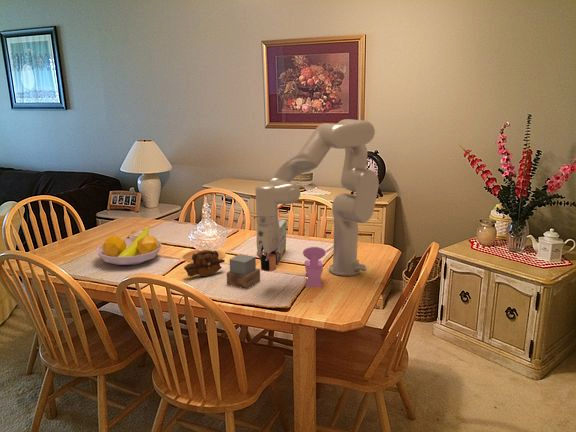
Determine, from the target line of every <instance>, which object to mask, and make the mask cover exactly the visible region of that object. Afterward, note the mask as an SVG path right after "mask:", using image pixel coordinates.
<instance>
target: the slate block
mask: <svg viewBox="0 0 576 432" xmlns="http://www.w3.org/2000/svg"><path fill="white" fill-rule="evenodd" d="M256 266H257V257H256V256H253V255H248V254H247V255H246V254H242V253H239V254H237V255H235V256H234V257H231V258H229V271H230V272H232V273H237V274H241V275H247V274H249V273H251V272H252V271H254V270H256V269H257V267H256Z"/></svg>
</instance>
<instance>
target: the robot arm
mask: <svg viewBox="0 0 576 432" xmlns="http://www.w3.org/2000/svg"><path fill="white" fill-rule="evenodd" d="M375 133H376V130H375V127H374V125H373V123H371V122H370V121H367V120H362V119H349V118H347V119H345V118H344V119H342V120H340V121H339V122H337V123H330V122H329V123H328V122H326V123H325V122H324V123H321V124H319V125H318V126H317V127H316V128H315V130H313V132H312V133H311V135H310V136H309V138H308V139H307V141H306V142H305V143H304V144H303V146H302V148H300V150H299V152H298V153H297V154H296V155H295V154H294V156H292V157H291V158H289V159H288V160H287V161H285V162H284V163H283V164H282V165H280V167H279V168H278V169H277V170H276V171H275V172H274V174H273V176H272V177H271V178H270V180H269V181H268V183H261V184H259V185H257V186H256V187H255V206H256V207H255V209H256V213H255V214H256V224H257V226H256V227H257V228H256V250H257V251H256V256H257V257H258V259H259V260H260V271H261V270H262V271H264V270H265V271H264V272H270V271H269V260H268V255H269V253H271V254H275V255H276V266H278V263H277V254H278V251H277V250H278V248H279V247H280V246H281V234H280V226H279V222H278V219H279V213H278V212H279V208H278V207H279V206H278V205H291V204H294V203H297V201H298V200H299V199H300V198H301V189H300V187H299V186H298V185H297V184H295V183H293V182H292V181H293V180H294V179H295V178H297V176H299V175H301V174H303V173H306V172H310V171H312V170H315V169H317V168H318V167H319V165H320V164H321V163H322V161H323V160H324V158H325V157H326V156H327V154H328V153H329V151H330V150H331V149H338V150H342V149H344V151H345V154H344V161H343V165H342V172H341V177H340V184H341V187H342V188H343V189H345V190H346V191H351V192H353V193H355V195H354V194H351V193H345V192H344V193H343V192H342V193H340V194H338V195H336V196H335V198H333V200H332V203H331V204H332V206H331V207H332V208H331V210H332V214H333V215H332V217H333V246H332V247H333V250H332V253H333V254H332V255H333V256H332V264H330V265H329V267H328V271H329V273H331V274H332V275H335V276H342V277H349V276H350V277H351V276H356V275H359V274H360V272H366V271H367V265H366V264H363V263H362V264H361V263H360V260H359V259H358V242H359V241H358V238H359V225H358V224H365V223H367V222H368V221H369V220H370V219H371V218H372V217H373V213H374V211H375V207H376V202H377V197H378V192H379V191H378V190H379V186H380V185H379V183H380V182H379V177H378V174H377V173H376V172H375V171H373V170H372V169H369V168H367V162H368V149H367V144H369V143H371V142H372V140H373V139H374V137H375V135H376V134H375ZM264 253H266V255H264Z"/></svg>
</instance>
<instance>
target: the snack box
mask: <svg viewBox="0 0 576 432" xmlns="http://www.w3.org/2000/svg"><path fill="white" fill-rule="evenodd" d="M287 221H288V219H279V218H278V222H279V226H280V234H281V246H280V247H279V248H278V250H277V251H278V254H277V264H278V263H279V262H280V260H281V259H282V257H283V256H284V254H285V253H286V252H287V248H286V247H287ZM285 251H286V252H285ZM264 254H266V253H263V255H264Z"/></svg>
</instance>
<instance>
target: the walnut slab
mask: <svg viewBox="0 0 576 432" xmlns="http://www.w3.org/2000/svg"><path fill="white" fill-rule="evenodd" d="M257 282H258V283H259V282H261V268H256V270H254V271H252V272H251V273H249V274H247V275H241V274H237V273H232V272H230V270H229V271H227V272H226V285H227V286H231V285H232V287H235V286H236V287H235V288H240V287H241V289H244V288H245V290H248V289H250V288H252V287H253V286H254V285H256V284H257ZM252 285H253V286H252ZM249 287H250V288H249Z"/></svg>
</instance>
